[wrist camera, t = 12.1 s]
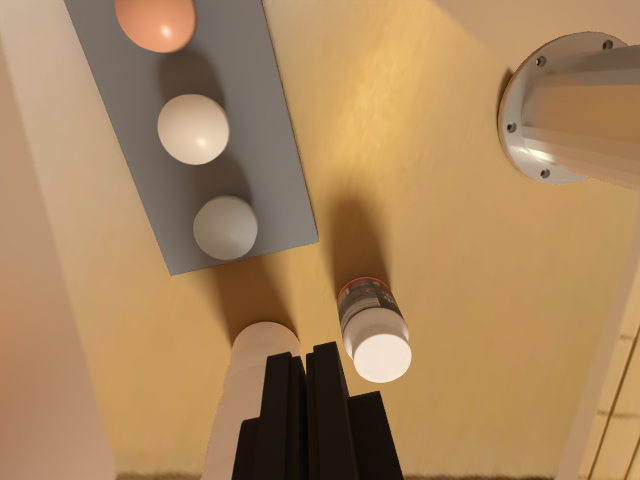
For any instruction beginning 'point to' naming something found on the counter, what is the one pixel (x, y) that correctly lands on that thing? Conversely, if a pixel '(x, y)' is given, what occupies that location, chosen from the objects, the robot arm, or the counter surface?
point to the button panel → (237, 101)
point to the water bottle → (243, 392)
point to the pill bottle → (373, 330)
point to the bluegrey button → (226, 227)
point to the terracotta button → (158, 23)
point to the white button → (193, 128)
